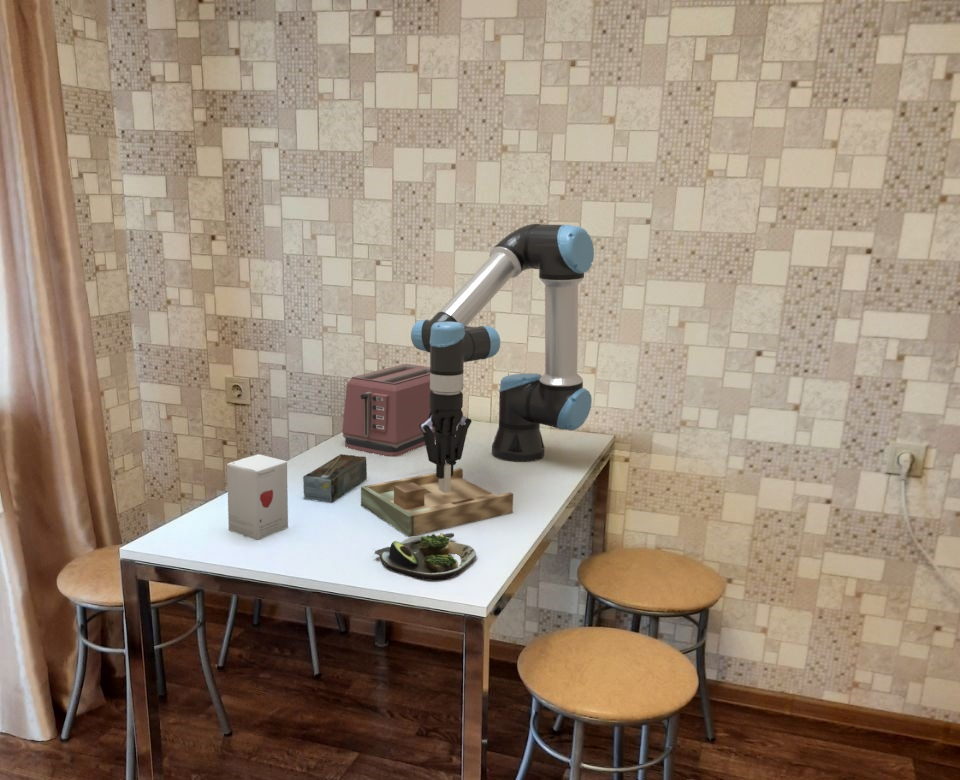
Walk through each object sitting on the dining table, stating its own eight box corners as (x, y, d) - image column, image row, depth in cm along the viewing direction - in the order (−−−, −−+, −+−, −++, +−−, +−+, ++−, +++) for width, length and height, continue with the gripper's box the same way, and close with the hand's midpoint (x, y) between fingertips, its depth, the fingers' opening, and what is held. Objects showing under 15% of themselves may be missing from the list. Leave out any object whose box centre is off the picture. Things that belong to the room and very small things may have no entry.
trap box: (459, 485, 203) (460, 468, 202) (512, 512, 186) (513, 493, 185) (360, 505, 187) (360, 486, 186) (408, 536, 170) (408, 516, 169)
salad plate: (419, 533, 173) (420, 512, 172) (493, 552, 165) (494, 530, 164) (364, 565, 157) (364, 543, 156) (442, 588, 148) (443, 565, 147)
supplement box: (257, 541, 166) (255, 471, 162) (227, 531, 170) (224, 463, 167) (289, 527, 173) (288, 460, 170) (260, 518, 178) (258, 452, 175)
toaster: (335, 448, 231) (335, 378, 227) (403, 424, 260) (404, 361, 256) (390, 460, 222) (390, 387, 218) (454, 433, 251) (456, 368, 247)
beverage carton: (301, 499, 191) (301, 472, 189) (340, 476, 208) (340, 451, 207) (331, 504, 188) (331, 477, 187) (368, 480, 206) (368, 455, 205)
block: (412, 499, 185) (413, 482, 184) (424, 505, 181) (424, 488, 180) (393, 502, 182) (393, 486, 182) (404, 509, 178) (405, 492, 178)
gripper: (461, 385, 189) (458, 481, 194) (412, 390, 181) (411, 490, 186) (479, 391, 183) (476, 490, 188) (430, 397, 175) (428, 500, 180)
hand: (444, 490), depth 187 cm, fingers closed
